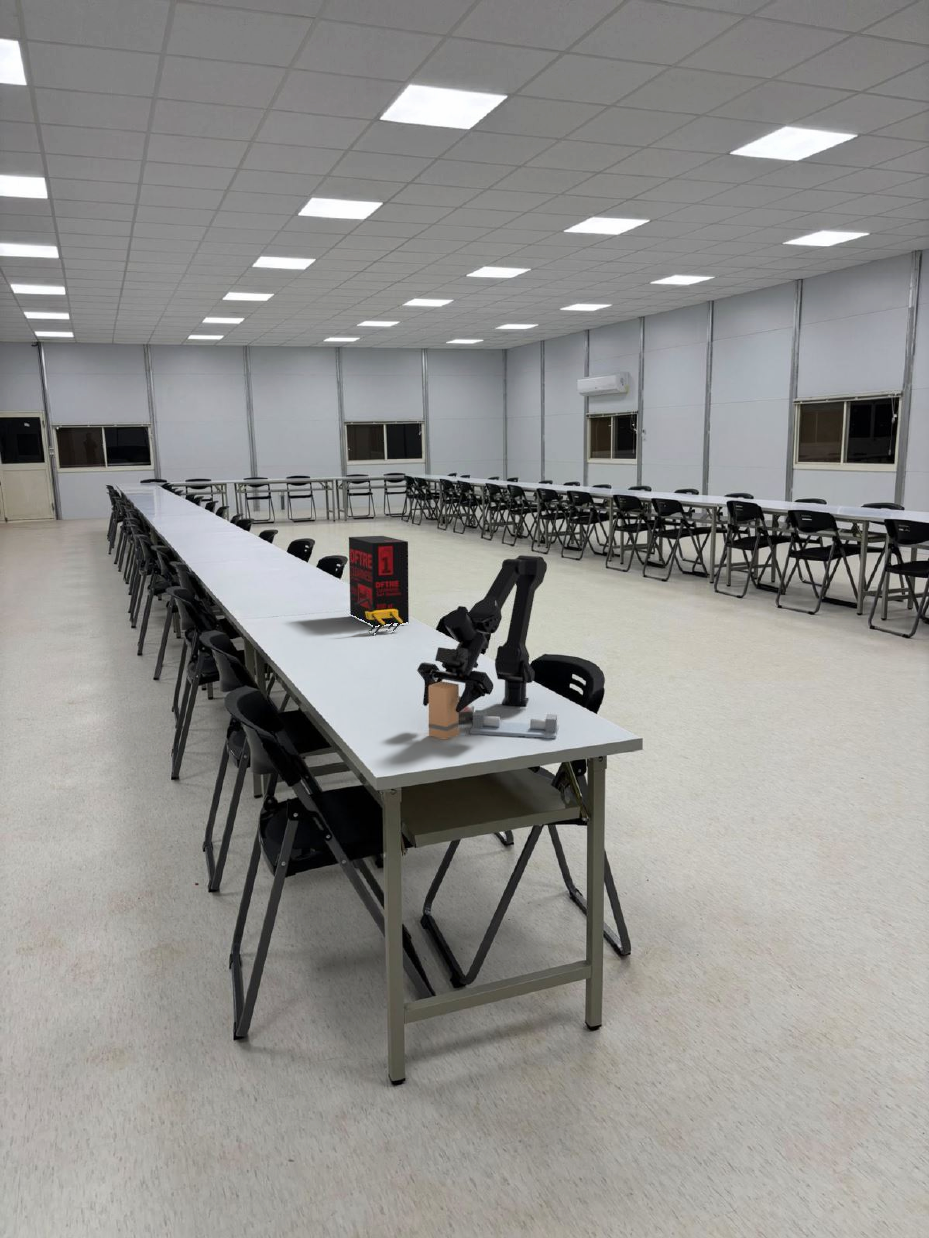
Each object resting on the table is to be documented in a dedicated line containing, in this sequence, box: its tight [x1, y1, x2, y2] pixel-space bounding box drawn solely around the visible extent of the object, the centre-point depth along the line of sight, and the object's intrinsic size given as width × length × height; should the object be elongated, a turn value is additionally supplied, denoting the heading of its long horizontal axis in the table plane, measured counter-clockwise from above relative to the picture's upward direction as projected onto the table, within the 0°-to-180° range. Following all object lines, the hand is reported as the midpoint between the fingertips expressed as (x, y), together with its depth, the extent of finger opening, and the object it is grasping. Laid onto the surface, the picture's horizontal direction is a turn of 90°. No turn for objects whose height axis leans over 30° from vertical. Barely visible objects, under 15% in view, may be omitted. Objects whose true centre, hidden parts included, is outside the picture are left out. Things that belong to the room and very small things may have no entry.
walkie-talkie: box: [459, 695, 475, 724], centre depth 224 cm, size 9×4×20 cm
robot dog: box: [354, 598, 403, 634], centre depth 321 cm, size 6×18×13 cm, turn 120°
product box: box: [348, 535, 410, 626], centre depth 344 cm, size 26×14×32 cm, turn 27°
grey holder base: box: [469, 709, 559, 739], centre depth 209 cm, size 8×20×4 cm, turn 79°
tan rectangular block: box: [428, 680, 460, 740], centre depth 206 cm, size 5×5×12 cm
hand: (440, 708), depth 204 cm, fingers open, 9 cm apart
